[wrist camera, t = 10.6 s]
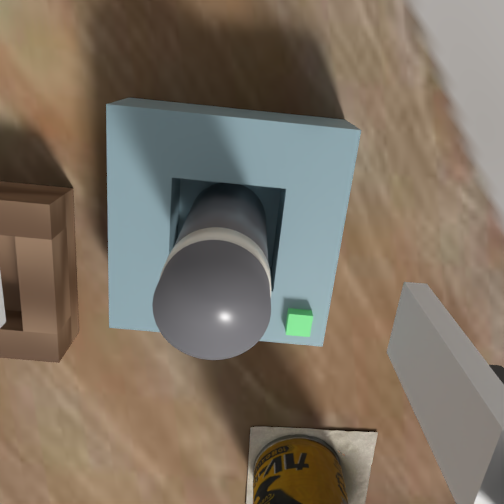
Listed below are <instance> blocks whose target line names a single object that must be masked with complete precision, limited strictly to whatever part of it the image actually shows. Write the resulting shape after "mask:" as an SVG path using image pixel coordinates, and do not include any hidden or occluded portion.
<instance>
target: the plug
mask: <svg viewBox="0 0 504 504" xmlns="http://www.w3.org/2000/svg"><path fill="white" fill-rule="evenodd" d="M152 307H153V315H154V319H155V322H156V325H157V327H158V329H159V331H160V332H161V334H162V335H163V337H164V338H165V339H166V340H167V341H168V342H169V343H170V344H171V345H172V346H174V347H175V348H177V349H178V350H180V351H181V352H183V353H185V354H187V355H190V356H193V357H196V358H200V359H206V360H222V359H227V358H232V357H235V356H238V355H240V354H242V353H244V352H246V351H247V350H249V349H250V348H252V347H253V346H254V345H255V344H256V343H257V342H258V341H259V340H260V339H261V338H262V336H263V335H264V333H265V331H266V329H267V327H268V325H269V322H270V317H271V276H270V268H269V264H268V249H267V233H266V217H265V211H264V207H263V204H262V202H261V201H260V199H259V198H258V196H257V195H256V194H255V193H254V192H253V191H252V190H250V189H249V188H247V187H246V186H243V185H241V184H232V183H222V182H220V183H216V184H213V185H211V186H209V187H207V188H206V189H204V190H203V191H202V192H201V193H200V194H199V195H198V196H197V197H196V199H195V201H194V202H193V205H192V207H191V209H190V212H189V214H188V216H187V218H186V221H185V223H184V225H183V227H182V230H181V232H180V234H179V237H178V239H177V241H176V243H175V246H174V248H173V249H172V251H171V252H170V254H169V256H168V258H167V260H166V263H165V265H164V267H163V270H162V272H161V275H160V279H159V282H158V284H157V287H156V289H155V292H154V296H153V303H152Z"/></svg>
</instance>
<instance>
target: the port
mask: <svg viewBox="0 0 504 504" xmlns="http://www.w3.org/2000/svg"><path fill="white" fill-rule="evenodd" d="M106 133H107V204H108V276H109V328H120V329H131V330H142V331H153V332H160V331H159V329H158V327H157V325H156V322H155V319H154V315H153V307H152V303H153V296H154V292H155V289H156V287H157V284H158V282H159V279H160V275H161V272H162V270H163V267H164V265H165V263H166V260H167V258H168V256H169V254H170V252H171V251H172V249H173V248H174V246H175V243H176V241H177V239H178V237H179V234H180V232H181V230H182V227H183V225H184V223H185V221H186V218H187V216H188V214H189V212H190V209H191V207H192V205H193V202H194V201H195V199H196V197H197V196H198V195H199V194H200V193H201V192H202V191H203V190H204V189H206V188H207V187H209V186H211V185H213V184H216V183H220V182H222V183H232V184H241V185H243V186H246V187H247V188H249V189H250V190H252V191H253V192H254V193H255V194H256V195H257V196H258V198H259V199H260V201H261V202H262V204H263V207H264V211H265V217H266V233H267V249H268V264H269V268H270V276H271V317H270V322H269V325H268V327H267V329H266V331H265V333H264V335H263V336H262V338H261V339H260V340H259V341H266V342H277V343H289V344H300V345H311V346H323V341H324V335H325V330H326V324H327V319H328V313H329V307H330V302H331V296H332V291H333V285H334V279H335V274H336V268H337V263H338V257H339V251H340V246H341V240H342V235H343V229H344V223H345V218H346V212H347V207H348V201H349V196H350V190H351V184H352V179H353V173H354V168H355V162H356V156H357V151H358V145H359V140H360V134H361V130H360V129H359V128H357V127H356V126H354V125H352V124H351V123H349V122H348V121H346V120H343V119H334V118H324V117H314V116H304V115H295V114H285V113H275V112H265V111H256V110H246V109H236V108H227V107H217V106H207V105H197V104H188V103H178V102H168V101H159V100H149V99H139V98H126V99H122V100H119V101H115V102H112V103H108V104H106Z"/></svg>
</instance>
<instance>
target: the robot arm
mask: <svg viewBox="0 0 504 504" xmlns="http://www.w3.org/2000/svg"><path fill="white" fill-rule="evenodd" d="M5 322H6V316H5V307H4V298H3V290H2V281H1V273H0V328H1V327H2V326H3V325H4V324H5ZM387 354H388V356H389V358H390V360H391V362H392V365H393V367H394V369H395V371H396V373H397V376H398V378H399V380H400V382H401V384H402V387H403V389H404V391H405V393H406V395H407V397H408V400H409V402H410V404H411V406H412V408H413V411H414V413H415V415H416V417H417V419H418V421H419V424H420V426H421V428H422V430H423V432H424V435H425V437H426V439H427V441H428V443H429V445H430V448H431V450H432V452H433V454H434V456H435V459H436V461H437V463H438V465H439V467H440V469H441V472H442V474H443V476H444V478H445V480H446V483H447V485H448V487H449V489H450V491H451V493H452V496H453V498H454V500H455V502H456V504H504V368H503V367H502V366H498V365H488V363H487V362H486V361H485V359H484V358H483V357H482V355H481V354H480V353H479V352H478V350H477V349H476V348H475V346H474V345H473V344H472V342H471V341H470V340H469V338H468V337H467V336H466V335H465V333H464V332H463V331H462V329H461V328H460V327H459V325H458V324H457V323H456V321H455V320H454V319H453V317H452V316H451V315H450V314H449V312H448V311H447V310H446V308H445V307H444V306H443V304H442V303H441V302H440V300H439V299H438V298H437V297H436V295H435V294H434V293H433V291H432V290H431V289H430V287H429V286H428V285H427V284H422V283H411V282H404V284H403V288H402V292H401V296H400V300H399V304H398V308H397V313H396V317H395V321H394V325H393V329H392V333H391V337H390V341H389V345H388V349H387Z"/></svg>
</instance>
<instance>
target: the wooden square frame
mask: <svg viewBox="0 0 504 504" xmlns="http://www.w3.org/2000/svg"><path fill="white" fill-rule="evenodd" d="M0 273H1V281H2V290H3V298H4V307H5V316H6V322H5V324H4V325H3V326H2V327H1V328H0V358H12V359H23V360H35V361H46V362H58V363H59V362H60V360H61V359H62V357H63V356H64V354H65V353H66V351H67V350H68V348H69V347H70V345H71V344H72V342H73V340H74V339H75V337H76V336H77V334H78V333H79V318H78V294H77V269H76V245H75V220H74V196H73V188H65V187H55V186H45V185H34V184H24V183H14V182H3V181H0Z"/></svg>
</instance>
